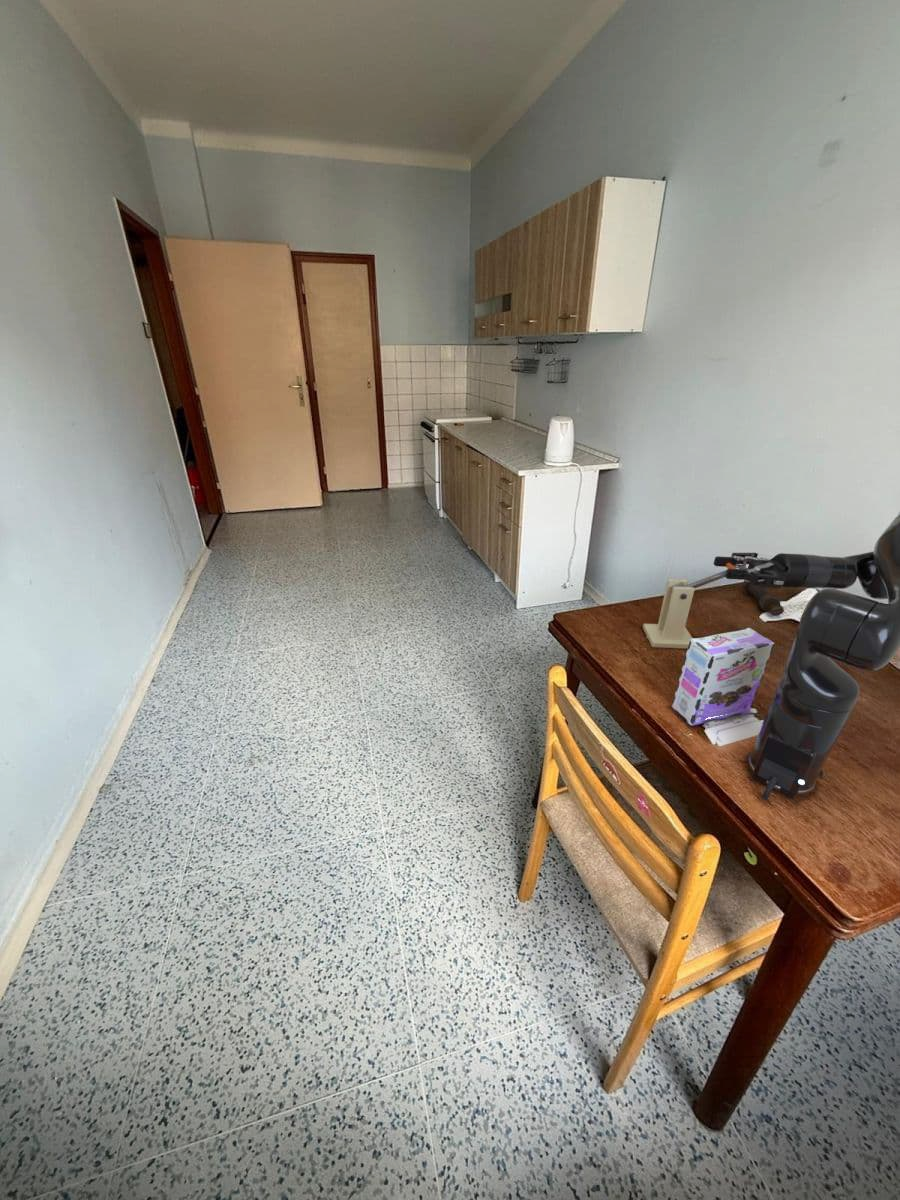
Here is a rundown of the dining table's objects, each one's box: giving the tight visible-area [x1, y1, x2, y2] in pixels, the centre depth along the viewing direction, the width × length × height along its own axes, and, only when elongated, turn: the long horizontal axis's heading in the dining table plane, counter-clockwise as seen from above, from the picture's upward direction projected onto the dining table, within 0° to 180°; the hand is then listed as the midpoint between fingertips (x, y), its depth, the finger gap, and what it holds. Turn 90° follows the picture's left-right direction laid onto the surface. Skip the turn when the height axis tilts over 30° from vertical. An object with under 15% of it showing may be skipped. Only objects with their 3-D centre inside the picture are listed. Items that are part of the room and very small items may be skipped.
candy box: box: [671, 627, 775, 727], centre depth 89 cm, size 14×6×16 cm, turn 105°
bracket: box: [642, 578, 696, 649], centre depth 112 cm, size 10×9×15 cm
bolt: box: [741, 580, 785, 617], centre depth 128 cm, size 6×5×15 cm
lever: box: [671, 563, 737, 591], centre depth 108 cm, size 14×6×2 cm, turn 84°
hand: (720, 567), depth 106 cm, fingers closed on lever, 6 cm apart
